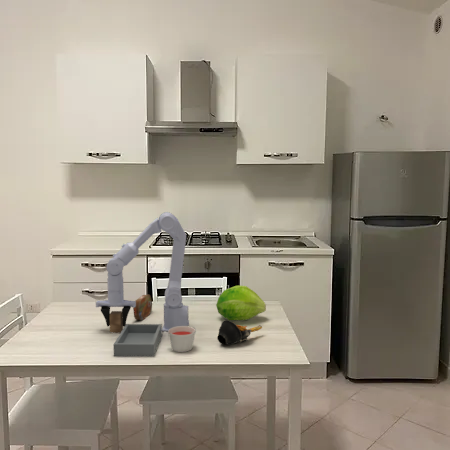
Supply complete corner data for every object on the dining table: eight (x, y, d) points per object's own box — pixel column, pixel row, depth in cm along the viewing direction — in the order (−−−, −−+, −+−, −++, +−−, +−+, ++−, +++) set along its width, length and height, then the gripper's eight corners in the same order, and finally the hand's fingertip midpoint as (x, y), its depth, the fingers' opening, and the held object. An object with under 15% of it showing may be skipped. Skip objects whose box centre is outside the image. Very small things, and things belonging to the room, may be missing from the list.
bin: (161, 334, 173) (161, 324, 172) (153, 356, 153) (153, 344, 152) (126, 334, 173) (126, 323, 172) (113, 356, 153) (113, 344, 152)
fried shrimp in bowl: (207, 330, 164) (238, 304, 176) (222, 357, 165) (252, 329, 177) (223, 327, 157) (254, 300, 169) (239, 355, 158) (269, 326, 170)
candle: (191, 342, 166) (191, 324, 165) (198, 351, 157) (198, 333, 156) (166, 345, 163) (166, 327, 162) (171, 355, 154) (171, 336, 154)
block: (123, 329, 179) (122, 311, 178) (120, 332, 175) (120, 314, 174) (112, 329, 179) (112, 311, 178) (109, 332, 175) (109, 314, 174)
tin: (139, 323, 186) (139, 302, 185) (132, 322, 187) (131, 301, 186) (152, 311, 201) (152, 292, 200) (145, 311, 201) (145, 292, 200)
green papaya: (265, 326, 182) (266, 292, 181) (213, 324, 184) (214, 290, 182) (265, 314, 198) (266, 282, 196) (217, 313, 199) (218, 281, 198)
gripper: (137, 287, 179) (137, 322, 180) (98, 287, 179) (99, 321, 180) (133, 292, 172) (134, 328, 173) (93, 292, 172) (94, 328, 173)
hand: (116, 325), depth 176 cm, fingers open, 5 cm apart
